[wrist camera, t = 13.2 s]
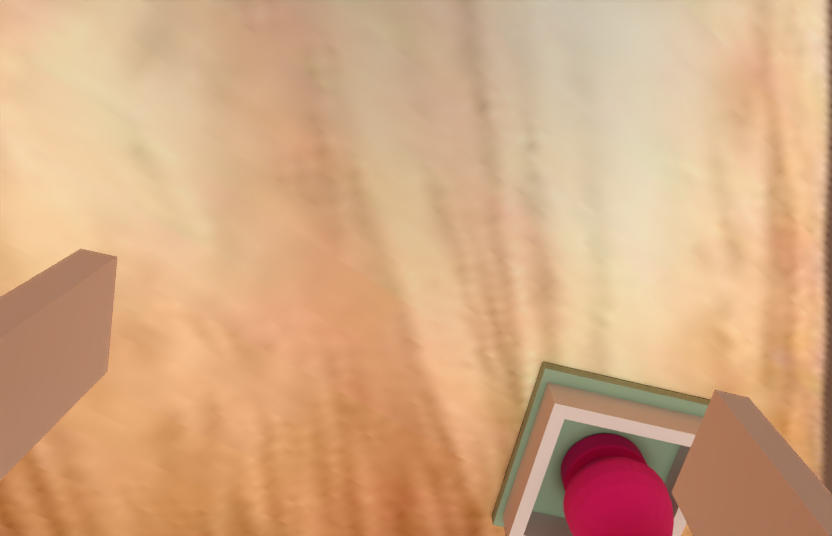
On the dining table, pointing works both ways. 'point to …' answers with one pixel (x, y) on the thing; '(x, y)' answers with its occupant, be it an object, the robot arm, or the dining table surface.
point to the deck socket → (582, 417)
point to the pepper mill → (613, 490)
